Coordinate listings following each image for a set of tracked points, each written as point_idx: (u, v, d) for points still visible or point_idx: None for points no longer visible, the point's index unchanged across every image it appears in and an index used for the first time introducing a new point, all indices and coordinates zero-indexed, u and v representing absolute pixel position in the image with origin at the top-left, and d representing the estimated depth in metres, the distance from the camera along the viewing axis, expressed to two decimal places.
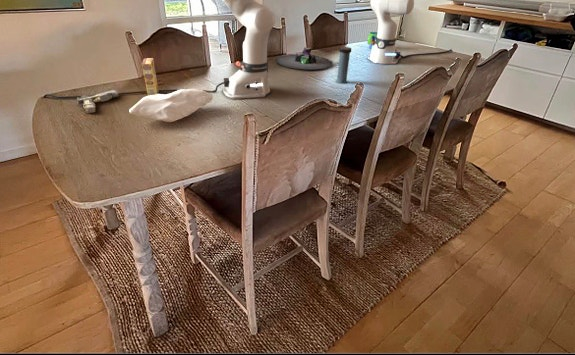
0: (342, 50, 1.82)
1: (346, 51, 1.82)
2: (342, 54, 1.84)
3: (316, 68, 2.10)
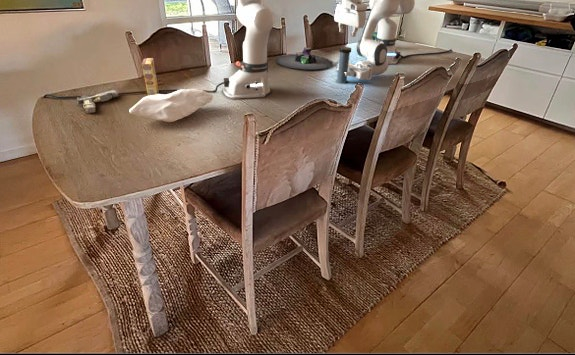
0: (342, 50, 1.82)
1: (346, 51, 1.82)
2: (342, 54, 1.84)
3: (316, 68, 2.10)
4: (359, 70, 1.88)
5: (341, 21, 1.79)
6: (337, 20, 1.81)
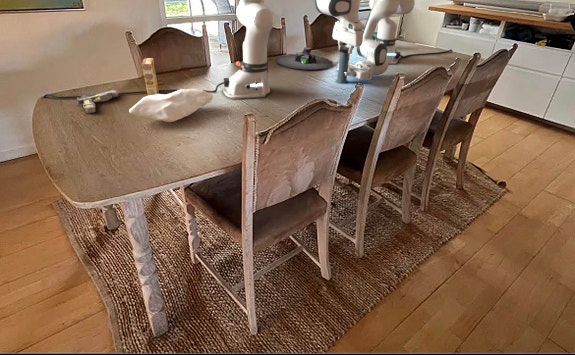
0: (342, 50, 1.82)
1: (346, 51, 1.82)
2: (342, 54, 1.84)
3: (316, 68, 2.10)
4: (359, 70, 1.88)
5: (339, 39, 1.83)
6: (335, 38, 1.86)
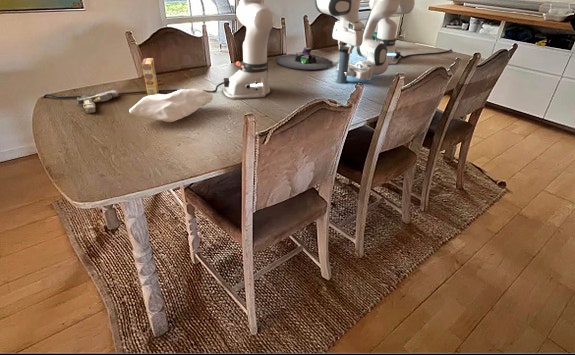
0: (347, 50, 1.82)
1: None
2: (342, 54, 1.84)
3: (316, 68, 2.10)
4: (359, 70, 1.88)
5: (339, 39, 1.83)
6: (335, 37, 1.86)
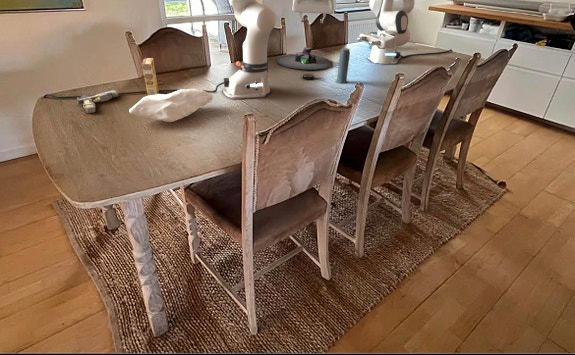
0: None
1: None
2: (342, 54, 1.84)
3: (316, 68, 2.10)
4: (382, 39, 1.85)
5: (305, 10, 1.77)
6: (299, 10, 1.77)
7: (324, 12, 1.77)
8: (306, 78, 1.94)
